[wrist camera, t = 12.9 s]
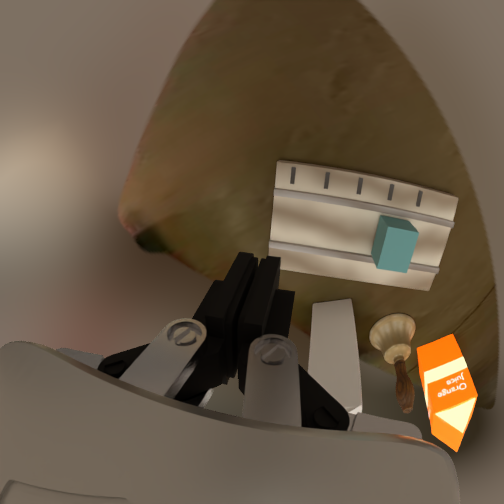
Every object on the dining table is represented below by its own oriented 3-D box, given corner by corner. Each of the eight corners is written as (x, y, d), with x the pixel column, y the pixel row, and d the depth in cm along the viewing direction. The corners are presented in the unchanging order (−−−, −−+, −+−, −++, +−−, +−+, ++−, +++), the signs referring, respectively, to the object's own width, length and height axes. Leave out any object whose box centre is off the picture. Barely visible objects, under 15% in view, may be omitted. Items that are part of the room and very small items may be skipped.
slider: (380, 215, 30) (388, 226, 27) (408, 220, 30) (419, 232, 26) (370, 253, 33) (376, 268, 29) (398, 258, 32) (406, 273, 28)
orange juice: (453, 333, 37) (487, 422, 20) (452, 361, 40) (476, 443, 22) (415, 348, 40) (438, 443, 23) (418, 374, 43) (434, 460, 25)
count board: (279, 159, 32) (276, 162, 30) (452, 194, 29) (460, 199, 26) (269, 260, 39) (266, 269, 36) (424, 283, 35) (429, 293, 33)
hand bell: (366, 351, 42) (373, 429, 28) (372, 314, 39) (386, 397, 25) (409, 347, 40) (427, 421, 26) (419, 310, 37) (447, 387, 23)
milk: (317, 331, 43) (305, 456, 23) (312, 302, 40) (298, 435, 21) (354, 327, 41) (360, 453, 21) (352, 297, 38) (363, 431, 19)
